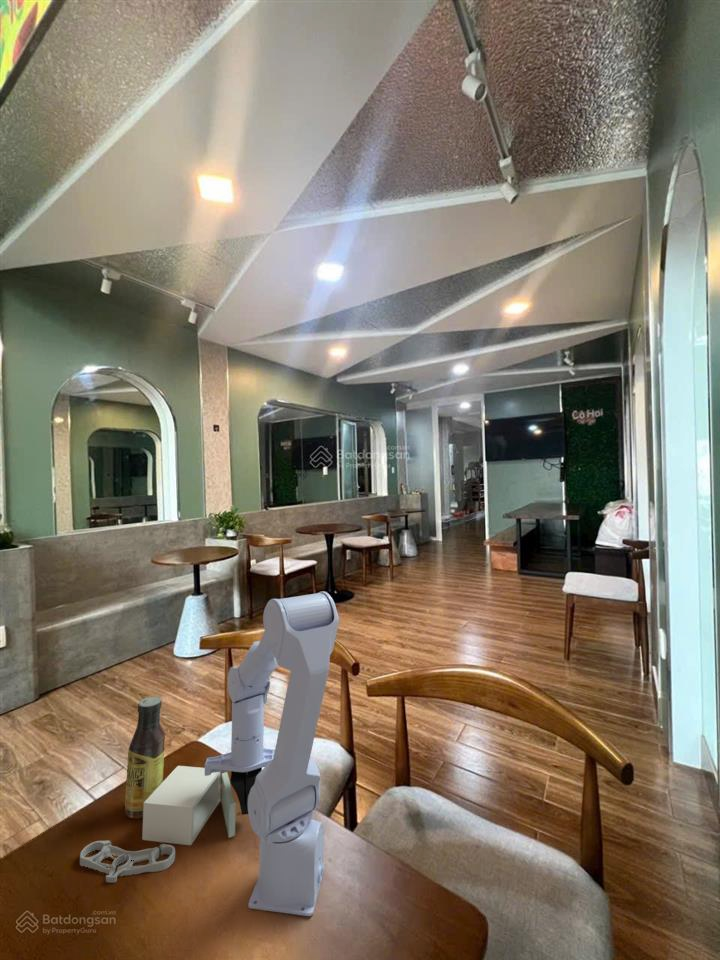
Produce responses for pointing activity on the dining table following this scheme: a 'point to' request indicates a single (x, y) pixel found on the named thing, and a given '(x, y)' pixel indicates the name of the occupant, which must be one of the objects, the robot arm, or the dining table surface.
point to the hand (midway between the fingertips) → (246, 810)
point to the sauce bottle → (145, 757)
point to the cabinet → (181, 806)
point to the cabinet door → (228, 804)
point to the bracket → (125, 859)
